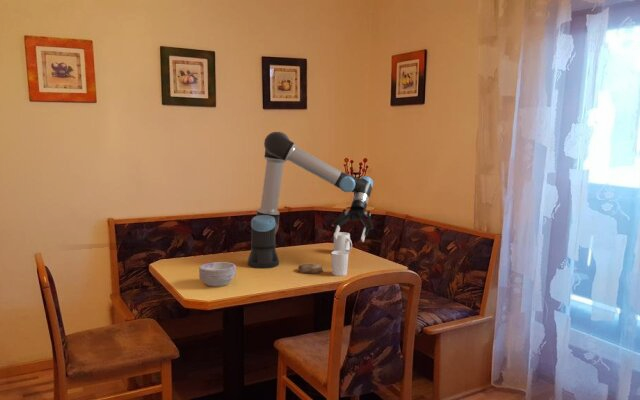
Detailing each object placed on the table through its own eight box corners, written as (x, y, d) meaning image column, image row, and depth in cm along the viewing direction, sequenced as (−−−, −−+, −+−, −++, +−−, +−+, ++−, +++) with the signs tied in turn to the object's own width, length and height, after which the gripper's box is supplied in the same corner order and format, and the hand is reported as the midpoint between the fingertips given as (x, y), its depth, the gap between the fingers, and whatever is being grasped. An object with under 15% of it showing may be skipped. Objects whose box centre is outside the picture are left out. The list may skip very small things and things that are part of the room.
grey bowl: (206, 278, 227) (205, 260, 226) (239, 279, 226) (239, 261, 225) (194, 288, 212) (193, 269, 211) (230, 289, 211) (230, 270, 210)
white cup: (328, 272, 238) (328, 251, 237) (343, 271, 241) (343, 250, 240) (335, 277, 231) (335, 255, 230) (351, 275, 234) (351, 253, 233)
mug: (345, 257, 270) (346, 236, 268) (330, 252, 279) (330, 233, 277) (357, 254, 275) (357, 234, 274) (341, 250, 284) (342, 231, 283)
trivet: (301, 274, 235) (301, 269, 234) (296, 268, 245) (296, 263, 245) (324, 273, 237) (324, 268, 237) (319, 267, 248) (319, 262, 248)
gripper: (385, 210, 253) (375, 246, 241) (338, 206, 263) (326, 241, 251) (382, 200, 247) (372, 236, 236) (334, 197, 257) (322, 232, 246)
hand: (348, 239), depth 243 cm, fingers open, 13 cm apart
